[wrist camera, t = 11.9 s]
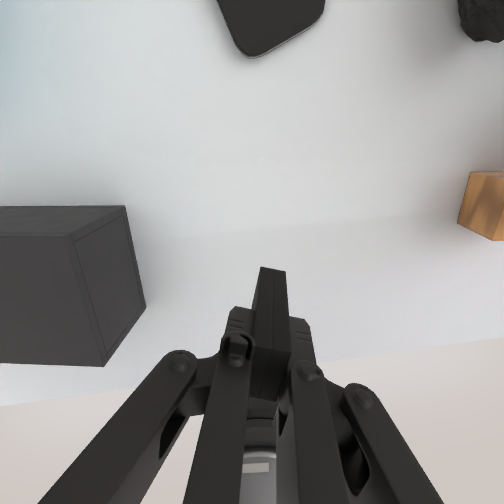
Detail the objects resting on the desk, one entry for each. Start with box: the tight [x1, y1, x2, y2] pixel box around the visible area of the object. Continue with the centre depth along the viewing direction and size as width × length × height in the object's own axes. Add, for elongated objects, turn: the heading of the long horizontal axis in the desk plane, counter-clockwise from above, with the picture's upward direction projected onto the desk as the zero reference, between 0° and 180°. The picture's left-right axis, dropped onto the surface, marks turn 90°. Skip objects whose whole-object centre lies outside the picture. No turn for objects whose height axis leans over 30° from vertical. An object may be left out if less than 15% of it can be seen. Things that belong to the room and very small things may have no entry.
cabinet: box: [0, 206, 146, 367], centre depth 29 cm, size 15×13×10 cm
